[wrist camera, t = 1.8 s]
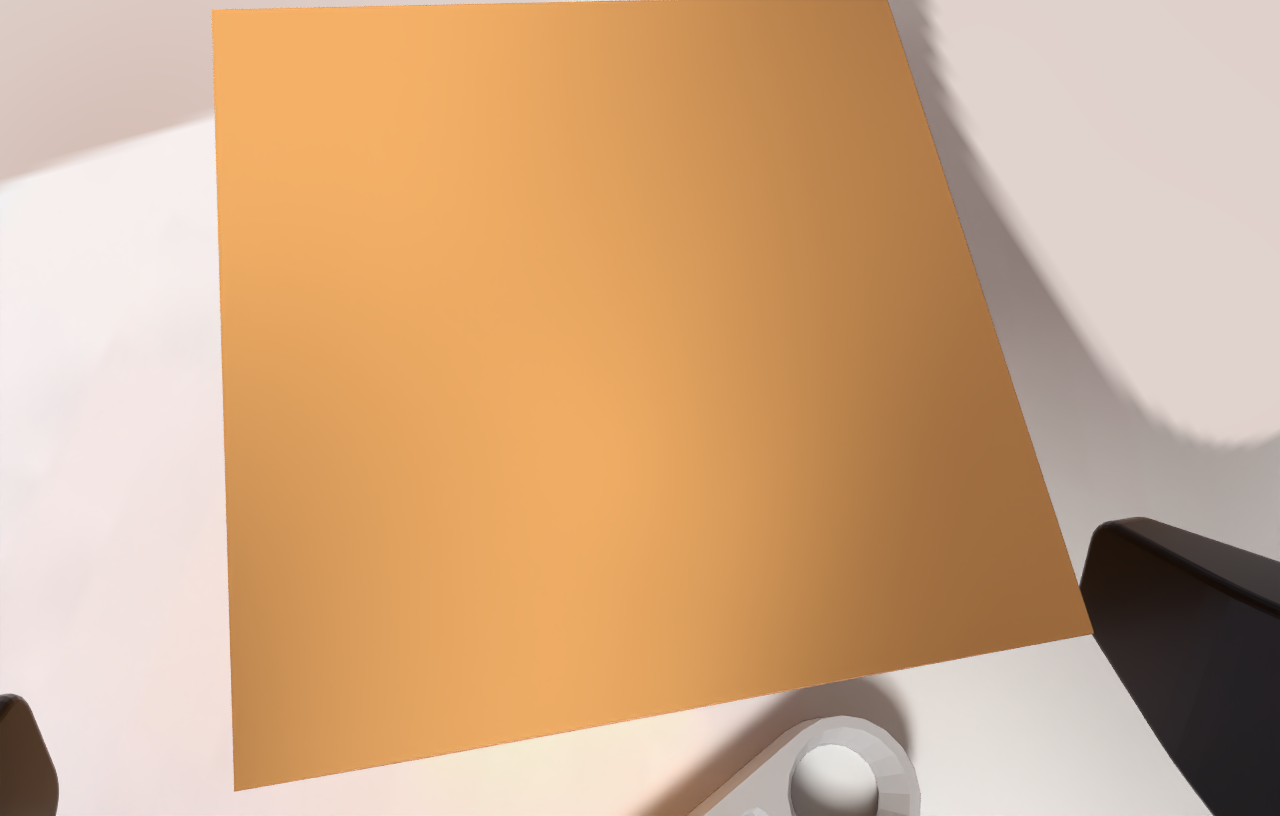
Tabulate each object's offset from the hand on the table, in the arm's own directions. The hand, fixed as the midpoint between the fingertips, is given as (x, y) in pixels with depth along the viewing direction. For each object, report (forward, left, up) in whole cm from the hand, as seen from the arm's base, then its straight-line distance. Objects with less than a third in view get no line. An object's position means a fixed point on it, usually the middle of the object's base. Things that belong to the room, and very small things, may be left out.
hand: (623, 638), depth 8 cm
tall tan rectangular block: (+2, +1, -10) cm, 10 cm away
